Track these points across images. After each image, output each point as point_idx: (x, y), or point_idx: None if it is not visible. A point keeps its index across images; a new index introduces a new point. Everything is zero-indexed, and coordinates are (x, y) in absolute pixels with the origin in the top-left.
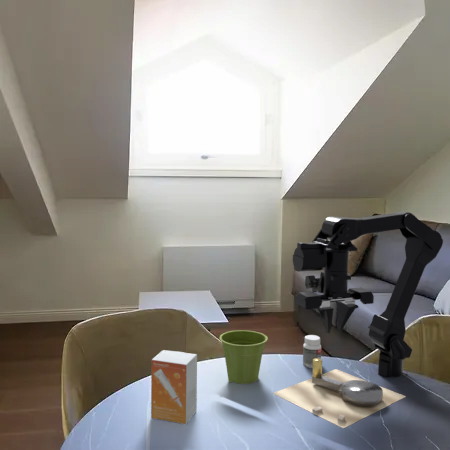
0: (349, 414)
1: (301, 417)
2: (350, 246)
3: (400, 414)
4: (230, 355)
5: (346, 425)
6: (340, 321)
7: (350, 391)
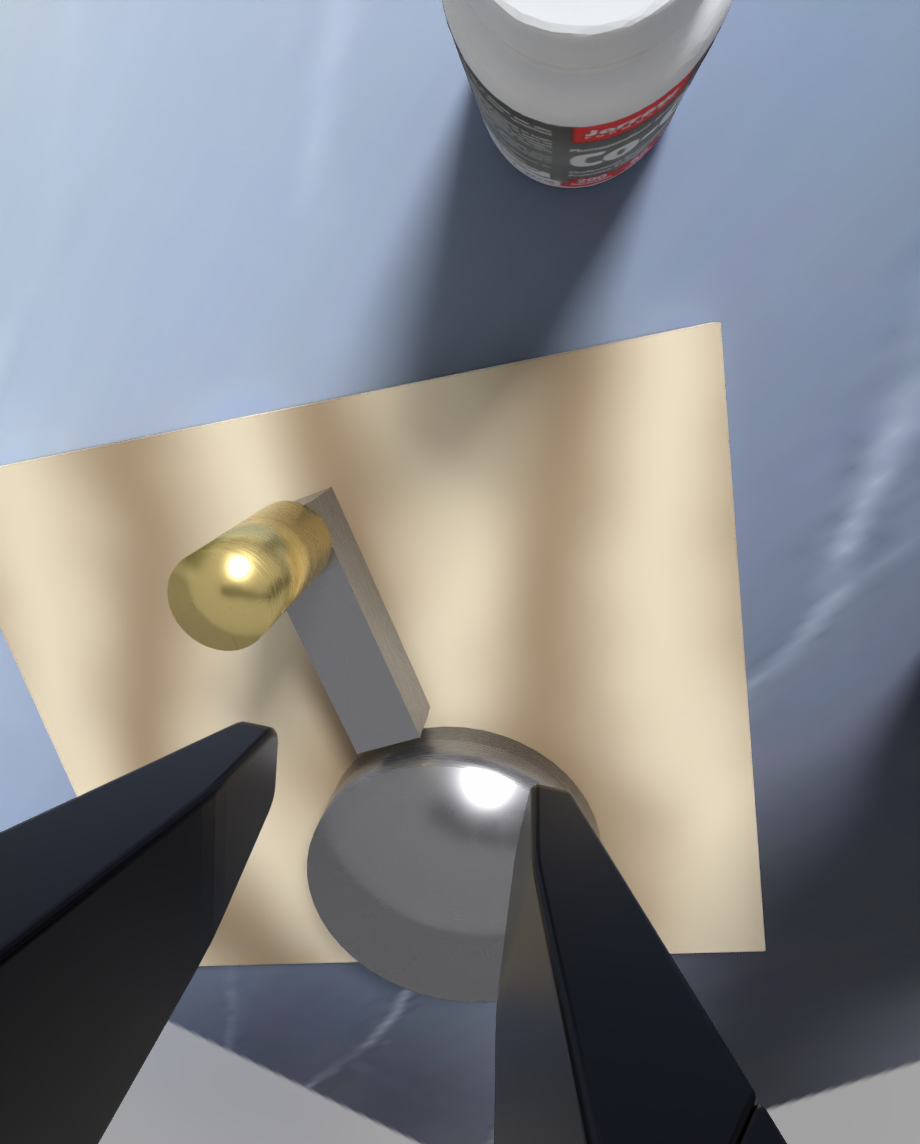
0: (265, 908)
1: (42, 754)
2: None
3: None
4: None
5: None
6: (513, 1117)
7: (341, 882)
